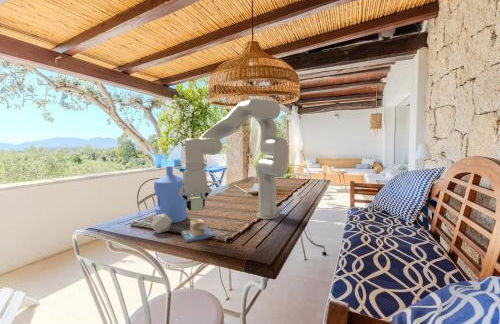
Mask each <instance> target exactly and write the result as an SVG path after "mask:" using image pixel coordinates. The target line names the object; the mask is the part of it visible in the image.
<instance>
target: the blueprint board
mask: <svg viewBox="0 0 500 324" xmlns="http://www.w3.org/2000/svg"><path fill="white" fill-rule="evenodd" d="M180 235H181V236H182V238H183V239H184V241H185V242H186V243H191V242H195V241H196V242H197V241H200V240H201V241H202V240H205V239H209V237H210V236H213V235H214V236H215V234H214V232H213V231H212V230H211V229H210V228H209V227H208V226H207V225H204V233H203V234H198V235H192V233H191V232H190V228H189V229H188V228H187V229H182V230H180Z"/></svg>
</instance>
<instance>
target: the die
mask: <svg viewBox="0 0 500 324" xmlns="http://www.w3.org/2000/svg"><path fill="white" fill-rule="evenodd" d="M171 223H172V220H171V219H170V218H169V217H168V216H167V215H166V213H164V214H159V215H156V214H155V215H154V216H153V219H152V222H151V223H150V227H151V229H153V230H154V231H155V232H156V234H162V233H165V232H169V231H170V229H171V226H172V224H171Z"/></svg>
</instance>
